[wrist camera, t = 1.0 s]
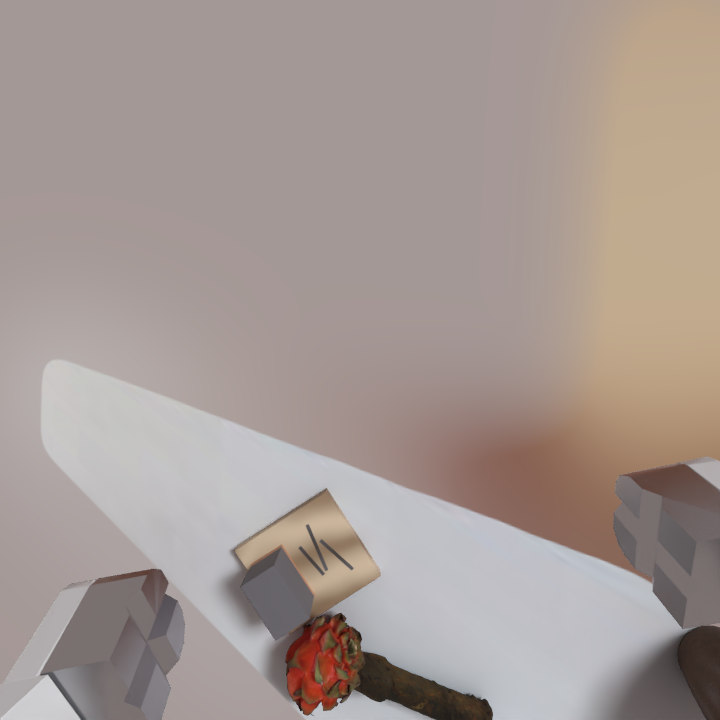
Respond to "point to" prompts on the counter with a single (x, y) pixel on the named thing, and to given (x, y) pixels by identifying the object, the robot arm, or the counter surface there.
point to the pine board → (317, 551)
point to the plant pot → (703, 668)
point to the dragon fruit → (324, 664)
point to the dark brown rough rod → (417, 692)
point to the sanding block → (278, 592)
